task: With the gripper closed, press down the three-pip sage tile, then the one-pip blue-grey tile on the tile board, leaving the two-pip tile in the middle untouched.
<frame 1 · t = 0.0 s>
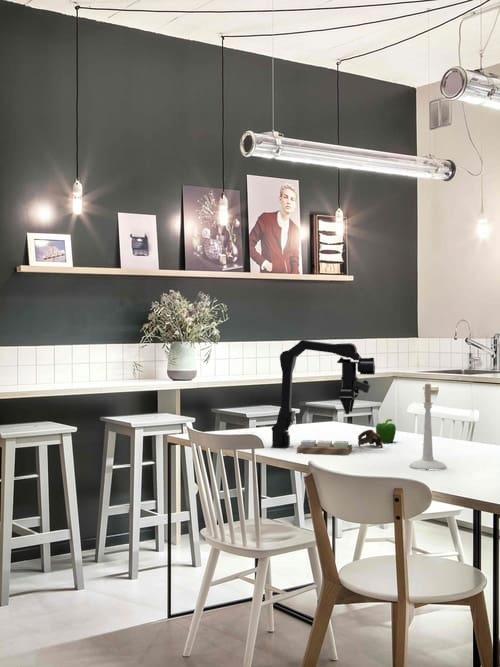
hand: (349, 412, 347), 15 cm above the table, fingers open, 9 cm apart
tile two: (324, 444, 340), point 3 cm above the table, slide at 0.0 cm
tile three: (341, 444, 338), point 3 cm above the table, slide at 0.0 cm
candlestick: (427, 467, 305), on the table
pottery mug: (370, 447, 354), on the table
tile one: (308, 443, 342), point 3 cm above the table, slide at 0.0 cm
bell pepper: (385, 442, 367), on the table
tile board: (324, 452, 340), on the table
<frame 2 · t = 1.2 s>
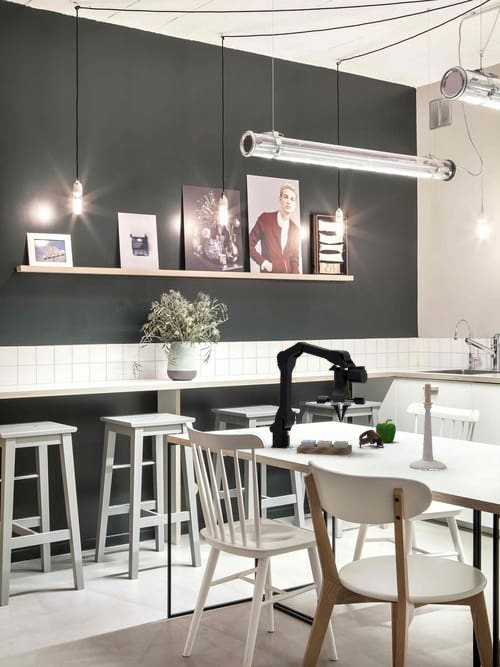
hand: (341, 422, 338), 12 cm above the table, fingers closed
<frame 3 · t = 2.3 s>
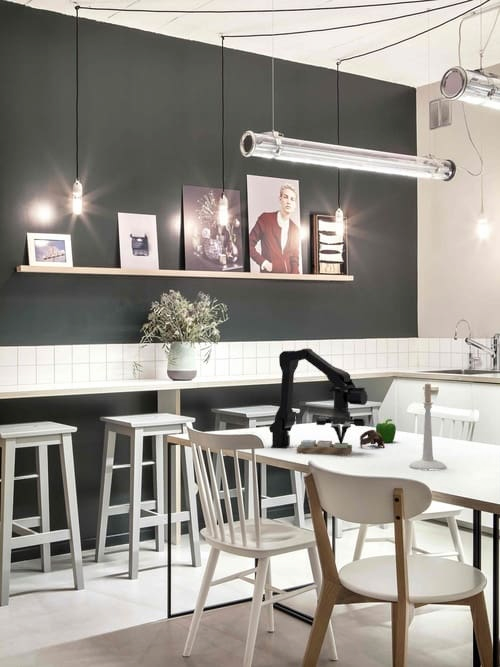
hand: (341, 443, 338), 4 cm above the table, fingers closed, pressing on tile three
tile three: (341, 446, 338), point 2 cm above the table, slide at -0.6 cm, touching gripper
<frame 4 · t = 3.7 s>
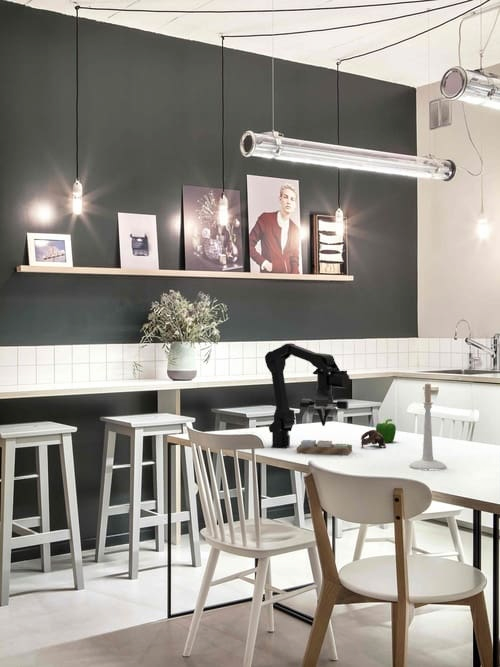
hand: (323, 425, 340), 10 cm above the table, fingers closed
tile three: (341, 447, 338), point 2 cm above the table, slide at -1.0 cm
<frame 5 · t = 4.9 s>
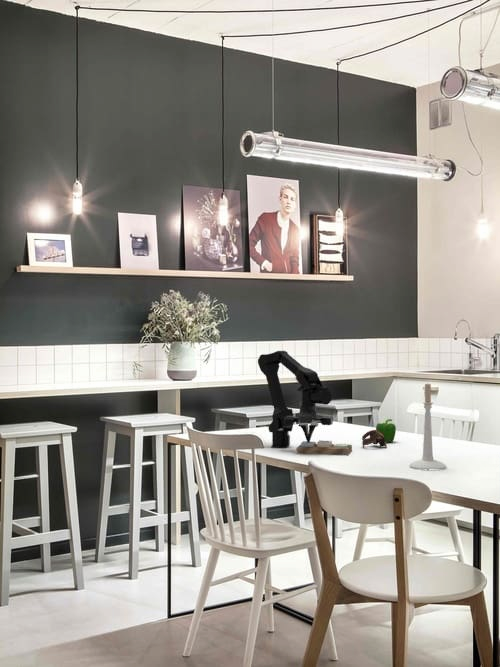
hand: (308, 442, 342), 4 cm above the table, fingers closed, pressing on tile one
tile one: (308, 445, 342), point 3 cm above the table, slide at -0.6 cm, touching gripper
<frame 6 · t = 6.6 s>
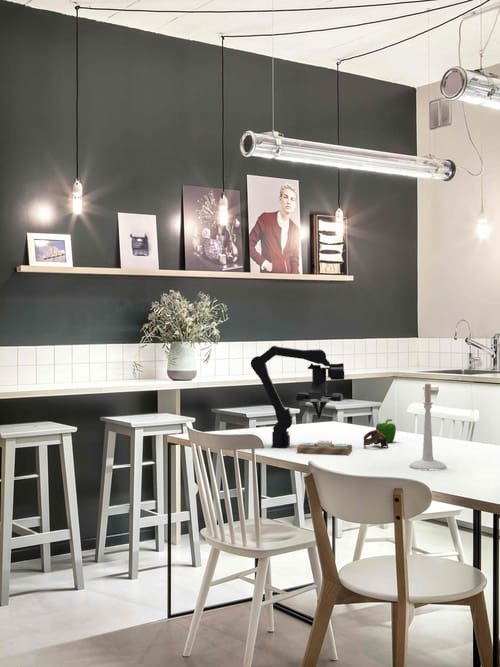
hand: (319, 418, 353), 12 cm above the table, fingers closed
tile one: (308, 446, 342), point 2 cm above the table, slide at -1.0 cm
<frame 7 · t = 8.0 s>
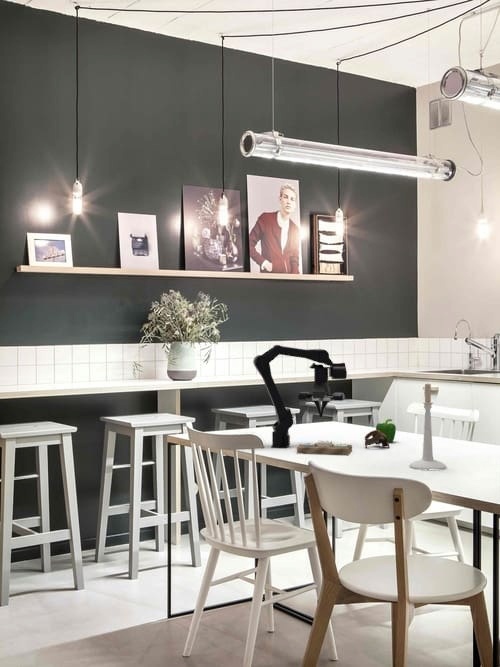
hand: (321, 417, 356), 12 cm above the table, fingers closed
at the end: tile three slide at -1.0 cm; tile one slide at -1.0 cm; tile two slide at 0.0 cm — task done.
